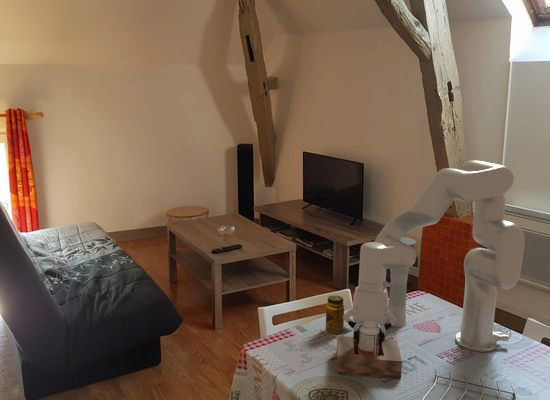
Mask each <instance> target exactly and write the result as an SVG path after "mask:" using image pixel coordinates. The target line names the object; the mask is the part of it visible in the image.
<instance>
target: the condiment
mask: <svg viewBox="0 0 550 400" xmlns="http://www.w3.org/2000/svg"><path fill="white" fill-rule="evenodd" d="M344 301H345V299H344V297H342V296H340V295H330V296H328V297H327V304H326V308H325V312H326V313H325V327H324V328H323V329H320V332H323V333H325V334H328V335H330V336H332V337H334V338H337V336H344V335H346V334H347V333H348V332H350V331H352V330H353V329H352V328H351V327H350V328H349V327H347V326H344V325H345V324H344V323H345V320H344V319H343V315H345V305H344ZM353 331H354V330H353Z"/></svg>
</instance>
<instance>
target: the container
mask: <svg viewBox="0 0 550 400" xmlns="http://www.w3.org/2000/svg"><path fill="white" fill-rule="evenodd" d="M400 241H401V242H403V243H405V244H407V245H409V246H411V247H412V248H413V249H414V250H415V248H416V246H417V241H416V240H415V239H414V238H410V237H405V236H403V237H402V238H401V240H400ZM410 268H411V267H409V268H407V269H389V270H390V287H389V294H388V295H389V297H388V310H389V311H390V313H391V314H392V315H393V316H394V317H395V318H396V319H397V322H396V323H395V324H394V325H392V327H396V328H399V327H405V326H406V325H407V319H406V318H407V285H408V284H407V282H408V277H409V272H410ZM389 321H390V319H389V318H388V322H389Z"/></svg>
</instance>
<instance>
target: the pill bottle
mask: <svg viewBox="0 0 550 400" xmlns="http://www.w3.org/2000/svg"><path fill="white" fill-rule="evenodd" d="M379 337H380V325H379V324H376V321H365V322H364V323H361V324H360V326H359V341H358V353H359V354H361V355H378V353H379Z"/></svg>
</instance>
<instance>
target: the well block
mask: <svg viewBox="0 0 550 400" xmlns="http://www.w3.org/2000/svg"><path fill="white" fill-rule="evenodd" d="M336 338H337V339H336V340H337V341H336V375H340V376H355V377H356V376H357V377H369V378H385V379H397V380H399V379H400V380H401V379H402V369H403V360H402V355H401V352H400V347H399V344H398V341H397V339H396V338H395V339H394V338H385V339H384V342H382V346H380V345H379V353H378V355H361V354H359V353H358V344H356V340H353V336H347V335H345V336H344V335H341V336H337V337H336Z"/></svg>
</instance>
